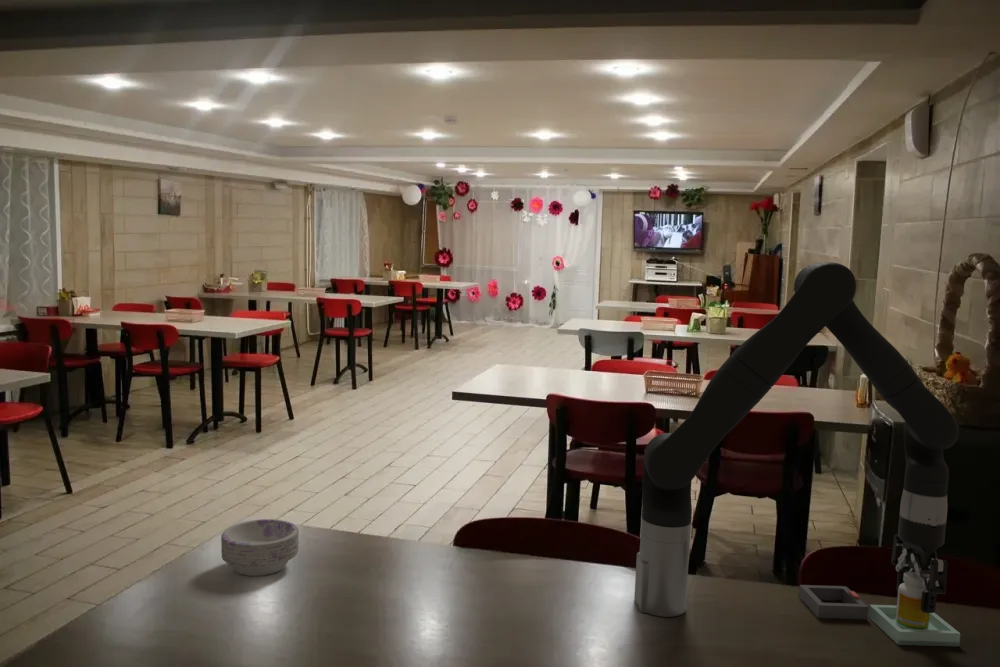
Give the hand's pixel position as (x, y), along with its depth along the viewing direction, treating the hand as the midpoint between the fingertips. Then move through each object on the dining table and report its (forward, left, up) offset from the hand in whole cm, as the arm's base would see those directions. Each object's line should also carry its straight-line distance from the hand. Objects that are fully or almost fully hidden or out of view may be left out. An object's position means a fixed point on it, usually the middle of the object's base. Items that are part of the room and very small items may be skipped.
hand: (914, 601), depth 147 cm
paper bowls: (-125, +20, -6) cm, 127 cm away
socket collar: (-11, +9, -6) cm, 15 cm away
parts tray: (0, 0, -6) cm, 6 cm away
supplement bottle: (0, 0, -5) cm, 5 cm away
